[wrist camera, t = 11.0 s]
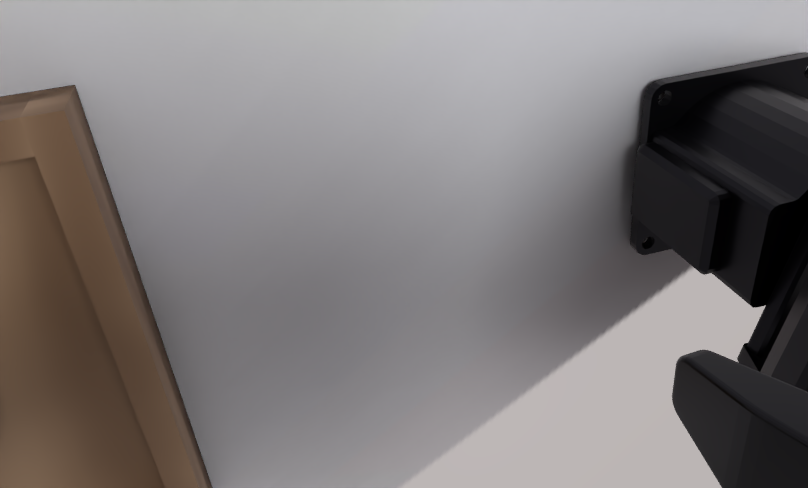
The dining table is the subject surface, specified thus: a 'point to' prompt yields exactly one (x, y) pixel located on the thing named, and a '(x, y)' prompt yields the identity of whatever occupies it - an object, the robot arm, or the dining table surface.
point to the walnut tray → (77, 320)
